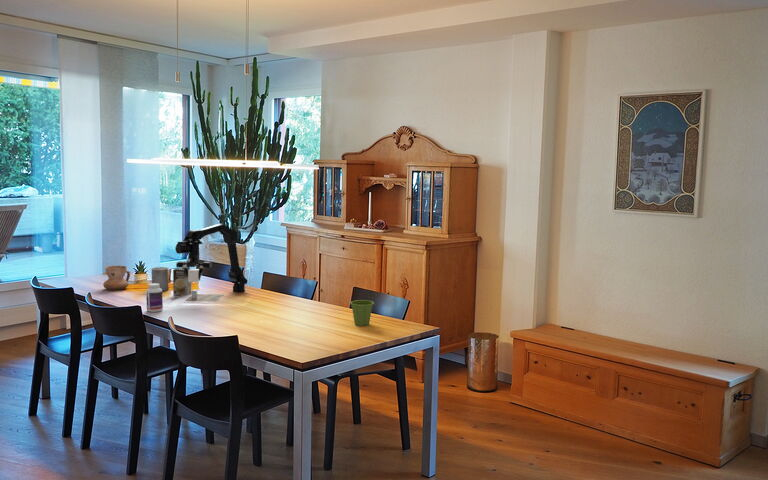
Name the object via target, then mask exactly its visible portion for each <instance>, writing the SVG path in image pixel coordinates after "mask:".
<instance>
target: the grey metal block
mask: <svg viewBox="0 0 768 480" xmlns="http://www.w3.org/2000/svg"><path fill="white" fill-rule="evenodd" d="M197 294H198V289H191V296H192V299H197Z"/></svg>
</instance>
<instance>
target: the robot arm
mask: <svg viewBox="0 0 768 480" xmlns="http://www.w3.org/2000/svg"><path fill="white" fill-rule="evenodd" d="M215 233H219V234H221V235H222V236H223V240H224V243H226V244H227V249H228V256H229V257H228V258H229V263H230V269H229V270H228V271H227V273H228V278H229V280H231V283H232V284H233V286H232V292H233V293H245V292H246V285H247V283H248V281H249V280H248V279H247V278H246V277H245V275H244V272H243V270H242V269H241V267H240V262H239V256H238V255H239V254H238V248H237V242H238V232H237V230H235V229H233V228H232V229H231V227H228V226H226V225H225V224H223V223H216V224H214V225H211V226H208V227H204V228H201V229H200V228H199V229H190V230H189V229H188V230H187V234H186V235H185V236H184V238H183V240H182V241H180V240H179V241H177V244H176V245H175V248H174V249H175V253H176V254H177V255H181V254H188V255H187V256H188V257H187V259H186V260H185V261H184V260H183V261H182V260H181V261H177V262H176V266H175V267H176V268H182V269H184V270H185V272H186V274H187V276H188V270H190V269H191V268H195V267H199V268H198V269H199V280H200V281H201V277H202V275H203V273H204V270H205V269H210V268H212V266H213V265H212V262H211V261H203V262H201V261H200V245H202V244H203V242H202V241H201V240H202V239H203V238H204V237H206V236H209V235H213V234H215Z"/></svg>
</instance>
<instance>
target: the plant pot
mask: <svg viewBox="0 0 768 480" xmlns="http://www.w3.org/2000/svg"><path fill="white" fill-rule="evenodd" d="M349 304H350V305H351V309H352V315H353V321H354V325H356V326H357V327H363V326H365V327H367V326H369V325H370V321H371V316H372V310H373V306H374V304H375V302H374V301H372V300H367V299H358V300H356V299H355V300H353V301H350V302H349Z"/></svg>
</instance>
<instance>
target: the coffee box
mask: <svg viewBox="0 0 768 480" xmlns="http://www.w3.org/2000/svg"><path fill="white" fill-rule="evenodd" d="M172 278H173V279H172V280H173V281H172V284H173V285H172V286H173V287H172V289H173V290H172V291H173V292H172V293H173V294H172V296H173V297H181V296H189V295H192V292H191V291H192V282H188V276H187V274H186V272H185V270H184V269H182V267H176V268H174V269H173V270H172Z"/></svg>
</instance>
